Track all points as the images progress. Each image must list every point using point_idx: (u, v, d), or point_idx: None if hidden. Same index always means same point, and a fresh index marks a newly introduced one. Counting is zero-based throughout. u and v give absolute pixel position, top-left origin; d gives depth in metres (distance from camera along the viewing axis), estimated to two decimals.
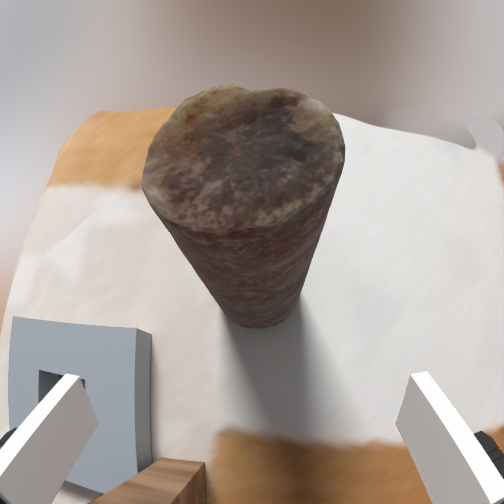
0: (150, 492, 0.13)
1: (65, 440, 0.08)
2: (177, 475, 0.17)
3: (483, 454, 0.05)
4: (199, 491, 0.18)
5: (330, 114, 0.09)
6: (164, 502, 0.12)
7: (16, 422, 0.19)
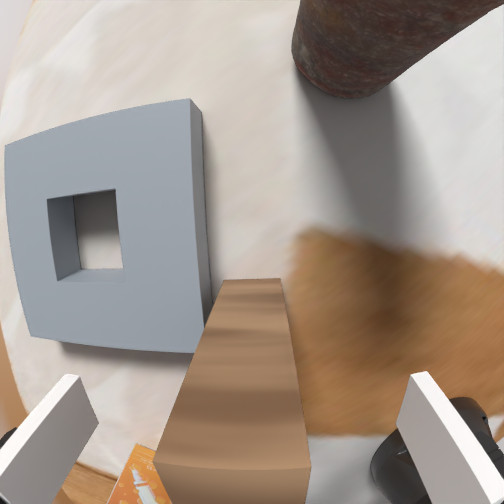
0: (251, 340, 0.13)
1: (65, 440, 0.08)
2: (263, 302, 0.17)
3: (483, 454, 0.05)
4: None
5: None
6: (283, 352, 0.12)
7: (27, 287, 0.19)
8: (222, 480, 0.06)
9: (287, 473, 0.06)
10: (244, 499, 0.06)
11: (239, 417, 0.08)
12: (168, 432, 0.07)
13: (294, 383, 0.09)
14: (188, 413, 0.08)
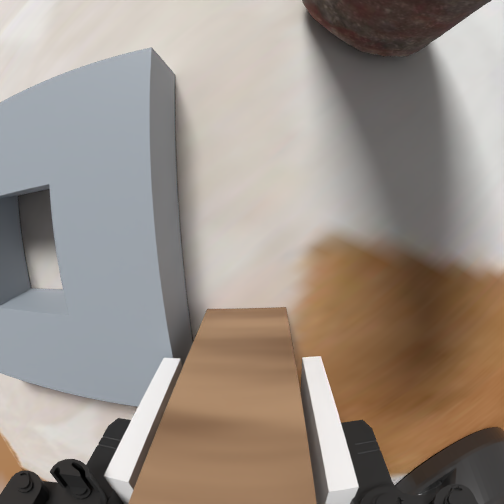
0: (239, 446, 0.06)
1: None
2: (262, 356, 0.11)
3: (344, 441, 0.07)
4: None
5: None
6: (295, 478, 0.05)
7: None
8: None
9: None
10: None
11: None
12: None
13: None
14: None
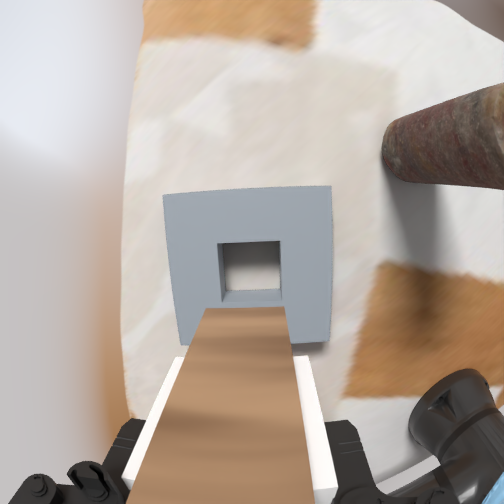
0: (237, 444, 0.06)
1: None
2: (260, 354, 0.11)
3: (327, 440, 0.07)
4: None
5: None
6: (294, 476, 0.05)
7: (186, 307, 0.30)
8: None
9: None
10: None
11: None
12: None
13: None
14: None
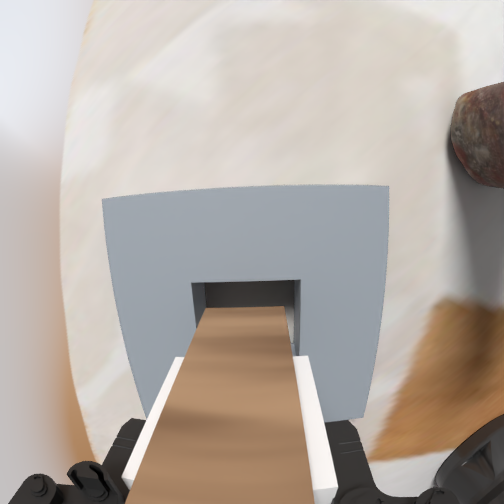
0: (237, 443, 0.06)
1: None
2: (260, 354, 0.11)
3: (326, 440, 0.07)
4: None
5: None
6: (293, 476, 0.05)
7: (149, 375, 0.18)
8: None
9: None
10: None
11: None
12: None
13: None
14: None
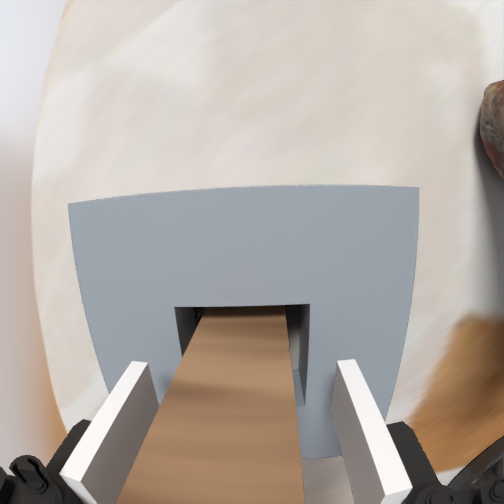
0: (235, 410, 0.08)
1: (137, 427, 0.09)
2: (259, 337, 0.12)
3: (391, 443, 0.07)
4: None
5: None
6: (283, 437, 0.07)
7: None
8: None
9: None
10: None
11: None
12: None
13: (298, 502, 0.04)
14: None
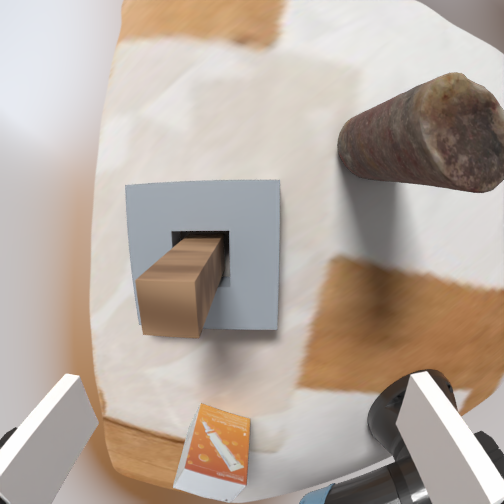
0: (191, 253, 0.25)
1: (65, 440, 0.08)
2: (206, 242, 0.29)
3: (483, 454, 0.05)
4: (221, 258, 0.32)
5: None
6: (204, 257, 0.24)
7: None
8: (161, 289, 0.19)
9: (185, 285, 0.18)
10: (170, 305, 0.19)
11: (174, 271, 0.20)
12: (143, 274, 0.20)
13: (203, 264, 0.22)
14: (153, 270, 0.20)
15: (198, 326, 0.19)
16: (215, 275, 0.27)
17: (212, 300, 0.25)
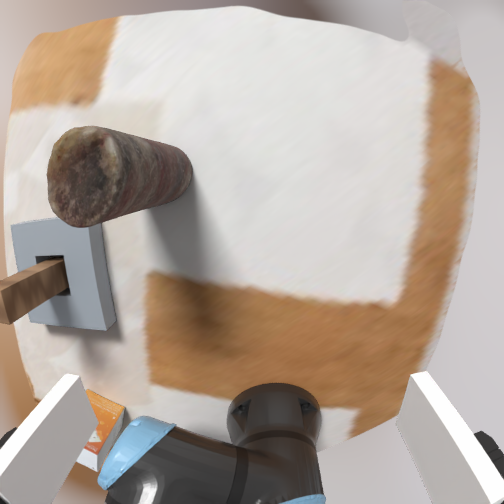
0: (27, 272, 0.30)
1: (65, 440, 0.08)
2: (49, 263, 0.35)
3: (483, 454, 0.05)
4: (66, 274, 0.37)
5: (114, 156, 0.17)
6: (29, 275, 0.29)
7: None
8: None
9: None
10: None
11: (2, 284, 0.26)
12: None
13: (19, 280, 0.27)
14: None
15: (8, 317, 0.24)
16: (47, 287, 0.32)
17: (39, 304, 0.30)
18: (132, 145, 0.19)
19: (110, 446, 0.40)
